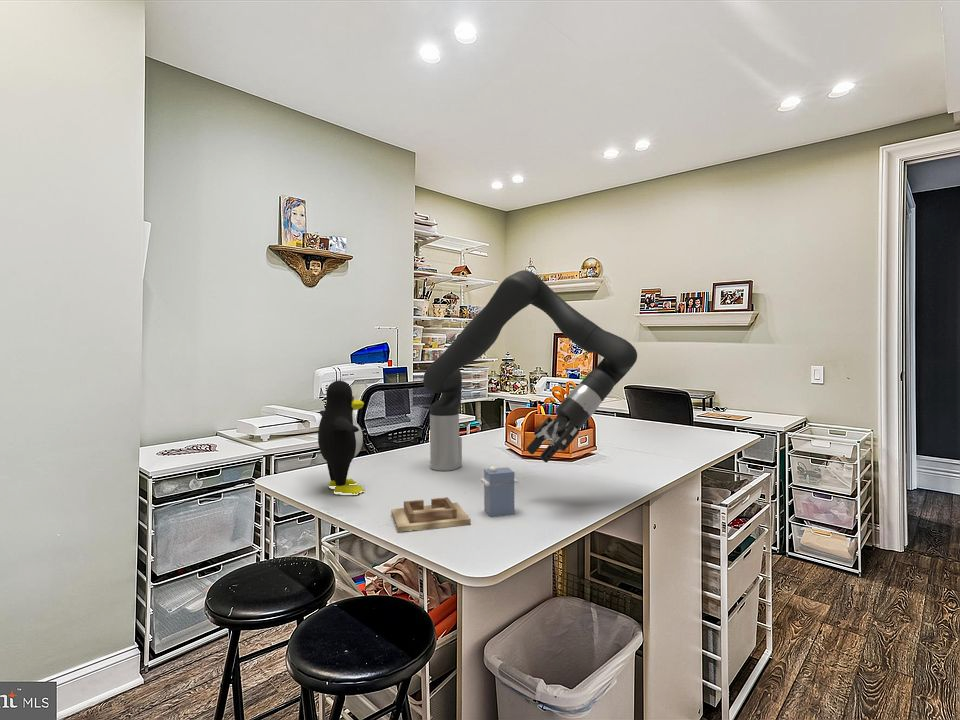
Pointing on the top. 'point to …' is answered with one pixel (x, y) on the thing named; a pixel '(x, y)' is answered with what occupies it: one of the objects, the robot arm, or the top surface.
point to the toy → (340, 435)
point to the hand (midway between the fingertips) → (535, 455)
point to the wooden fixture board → (429, 515)
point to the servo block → (498, 491)
